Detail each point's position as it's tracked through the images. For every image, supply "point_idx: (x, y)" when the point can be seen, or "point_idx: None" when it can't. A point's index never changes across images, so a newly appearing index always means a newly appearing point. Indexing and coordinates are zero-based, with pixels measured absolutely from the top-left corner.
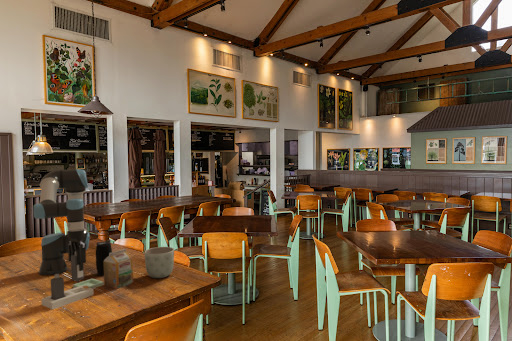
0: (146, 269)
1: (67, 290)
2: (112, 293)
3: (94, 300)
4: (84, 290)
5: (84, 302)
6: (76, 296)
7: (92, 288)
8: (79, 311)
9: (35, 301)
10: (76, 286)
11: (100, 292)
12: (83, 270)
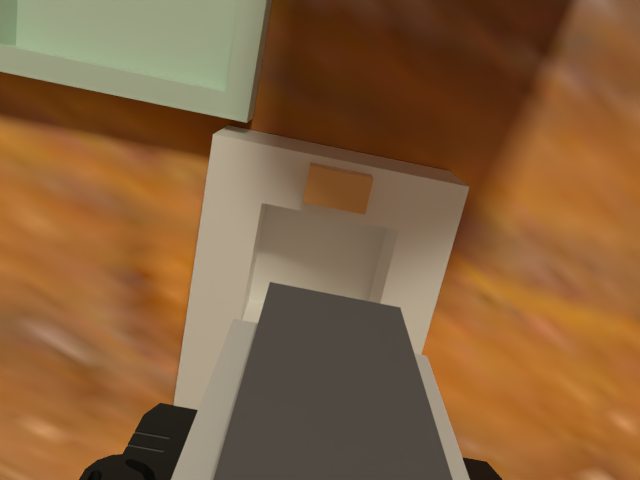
0: None
1: (194, 324)
2: (624, 37)
3: (554, 262)
4: (397, 261)
5: (489, 329)
6: None
7: (270, 11)
8: (593, 472)
9: (11, 448)
10: (61, 83)
11: (451, 61)
12: (422, 385)
